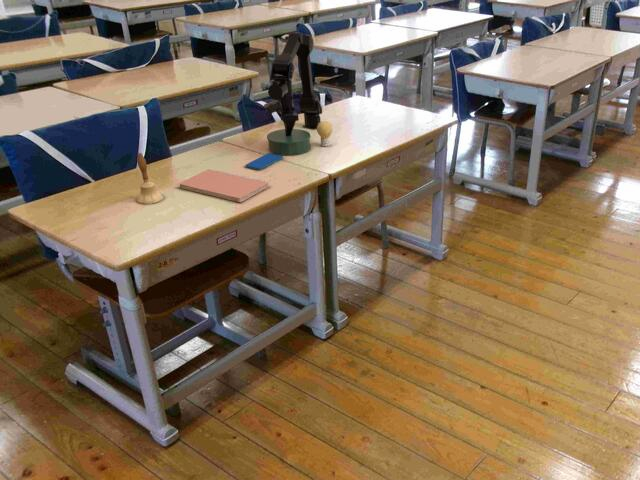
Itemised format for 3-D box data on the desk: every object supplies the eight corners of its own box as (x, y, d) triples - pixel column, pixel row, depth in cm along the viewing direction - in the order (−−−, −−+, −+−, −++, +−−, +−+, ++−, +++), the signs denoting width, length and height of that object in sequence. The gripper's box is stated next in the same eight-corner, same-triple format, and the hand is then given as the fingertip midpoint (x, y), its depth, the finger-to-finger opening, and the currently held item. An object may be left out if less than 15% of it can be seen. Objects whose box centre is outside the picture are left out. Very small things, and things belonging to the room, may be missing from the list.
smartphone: (244, 165, 239) (268, 152, 250) (244, 167, 239) (269, 154, 250) (259, 168, 236) (283, 155, 247) (260, 171, 236) (284, 158, 248)
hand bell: (148, 206, 208) (138, 159, 200) (131, 200, 212) (121, 154, 203) (168, 197, 214) (159, 152, 206) (152, 192, 218) (142, 147, 209)
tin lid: (264, 133, 260) (262, 118, 256) (306, 130, 264) (305, 115, 261) (270, 147, 246) (268, 131, 243) (314, 143, 251) (313, 127, 247)
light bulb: (315, 144, 263) (314, 120, 258) (330, 142, 265) (329, 118, 260) (320, 148, 258) (318, 124, 253) (335, 147, 260) (334, 123, 255)
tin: (266, 144, 262) (265, 132, 259) (305, 140, 266) (304, 129, 264) (272, 157, 249) (271, 145, 246) (313, 153, 253) (312, 141, 251)
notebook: (271, 186, 224) (270, 180, 223) (240, 203, 211) (239, 197, 210) (211, 172, 234) (210, 167, 233) (178, 188, 221) (177, 182, 220)
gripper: (260, 88, 251) (265, 127, 259) (267, 101, 236) (271, 141, 244) (288, 86, 254) (292, 125, 262) (297, 98, 239) (300, 139, 247)
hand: (288, 132), depth 254 cm, fingers open, 4 cm apart
